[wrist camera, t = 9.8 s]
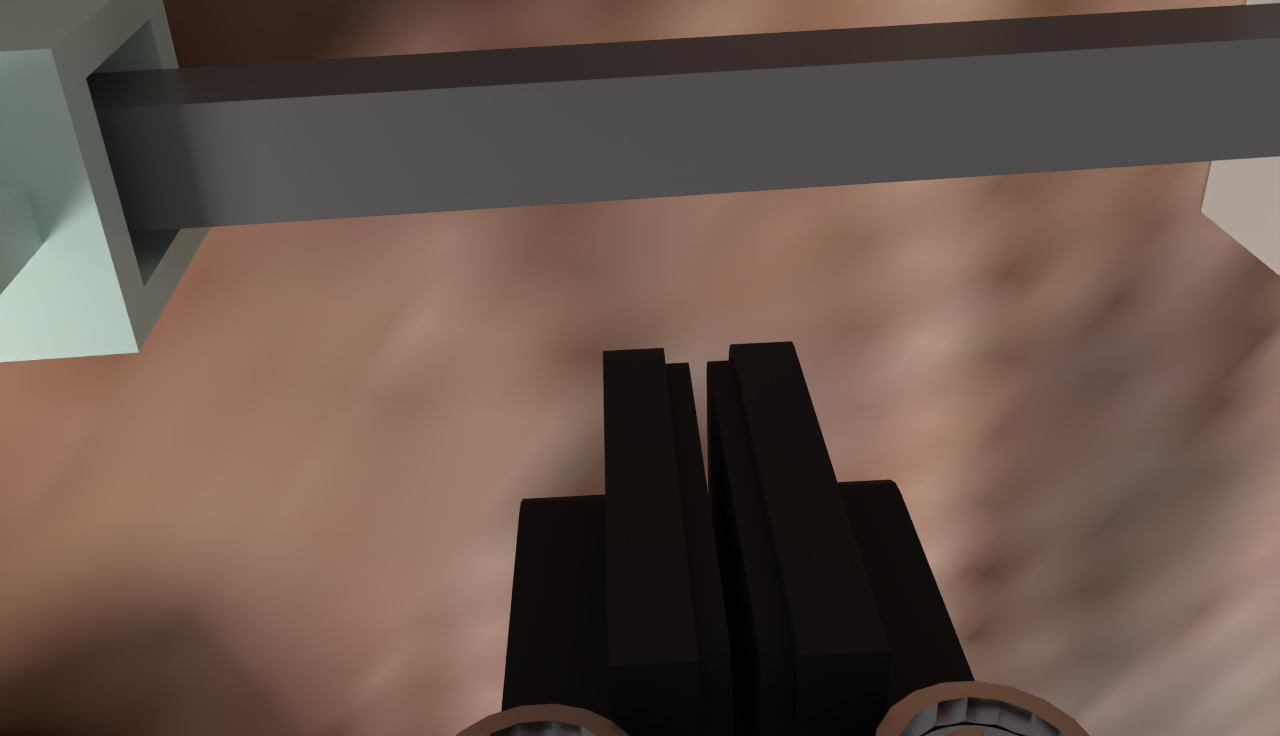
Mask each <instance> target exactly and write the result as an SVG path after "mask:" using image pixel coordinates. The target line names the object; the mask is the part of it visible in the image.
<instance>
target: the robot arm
mask: <svg viewBox="0 0 1280 736" xmlns="http://www.w3.org/2000/svg"><path fill="white" fill-rule="evenodd" d="M603 381H604V441H605V495H588V496H569V497H550V498H531V499H523V500H522V501H521V505H520V512H519V523H518V534H517V545H516V556H515V567H514V578H513V589H512V600H511V611H510V622H509V633H508V644H507V655H506V666H505V677H504V688H503V699H502V710H501V712H499V713H495V714H492V715H489V716H487V717H485V718H484V719H482V720H480V721H478V722H477V723H475V724H473V725H471V726H469V727H468V728H466V729H464V730H462V731H461V732H459V733H458V734H457V735H456V736H1089V735H1088V733H1087V732H1086V731H1085V730H1084V729H1083V728H1082V727H1081V726H1080V725H1079V724H1078V723H1077V722H1076V720H1075V719H1073V718H1072V717H1070V716H1069V715H1067V714H1066V713H1064V712H1063V711H1061V710H1060V709H1058V708H1057V707H1055V706H1054V705H1052V704H1050V703H1049V702H1047V701H1046V700H1044V699H1042V698H1039V697H1036V696H1034V695H1031V694H1029V693H1026V692H1024V691H1021V690H1018V689H1016V688H1013V687H1010V686H1004V685H998V684H992V683H986V682H980V681H975V680H974V678H973V675H972V673H971V670H970V667H969V665H968V662H967V660H966V657H965V655H964V652H963V650H962V647H961V645H960V642H959V639H958V637H957V634H956V632H955V629H954V627H953V624H952V622H951V619H950V617H949V614H948V612H947V609H946V606H945V604H944V601H943V599H942V596H941V594H940V591H939V589H938V586H937V584H936V581H935V578H934V576H933V573H932V571H931V568H930V566H929V563H928V561H927V558H926V556H925V553H924V551H923V548H922V545H921V543H920V540H919V538H918V535H917V533H916V530H915V528H914V525H913V523H912V520H911V517H910V515H909V512H908V510H907V507H906V505H905V502H904V500H903V497H902V495H901V492H900V490H899V489H898V487H897V485H896V483H895V482H893V481H892V480H873V481H854V482H837V480H836V476H835V473H834V470H833V467H832V464H831V461H830V457H829V454H828V451H827V448H826V445H825V442H824V438H823V435H822V432H821V429H820V426H819V423H818V420H817V416H816V413H815V410H814V407H813V404H812V401H811V397H810V394H809V391H808V388H807V385H806V382H805V379H804V375H803V372H802V369H801V366H800V363H799V360H798V356H797V353H796V350H795V347H794V345H793V343H792V342H790V341H789V342H770V343H750V344H731V345H730V348H729V361H710V362H707V440H708V490H707V484H706V477H705V470H704V463H703V456H702V450H701V443H700V436H699V429H698V423H697V416H696V409H695V402H694V395H693V389H692V382H691V375H690V368H689V363H671V364H665V355H664V348H652V349H633V350H613V351H603Z"/></svg>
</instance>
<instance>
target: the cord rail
mask: <svg viewBox="0 0 1280 736" xmlns="http://www.w3.org/2000/svg"><path fill="white" fill-rule="evenodd" d="M86 80H87V84H88V88H89V91H90V95H91V98H92V102H93V106H94V109H95V113H96V116H97V120H98V123H99V127H100V131H101V134H102V138H103V141H104V145H105V149H106V152H107V156H108V159H109V163H110V167H111V170H112V174H113V177H114V181H115V185H116V188H117V192H118V195H119V199H120V203H121V206H122V210H123V213H124V217H125V220H126V224H127V228H128V231H129V232H139V231H154V230H169V229H184V228H200V227H215V226H230V225H245V224H260V223H276V222H291V221H306V220H321V219H336V218H352V217H367V216H382V215H397V214H412V213H428V212H443V211H458V210H473V209H488V208H504V207H519V206H534V205H549V204H564V203H580V202H595V201H610V200H625V199H640V198H656V197H671V196H686V195H701V194H716V193H732V192H747V191H762V190H777V189H792V188H808V187H823V186H838V185H853V184H868V183H884V182H899V181H914V180H929V179H944V178H960V177H975V176H990V175H1005V174H1020V173H1036V172H1051V171H1066V170H1081V169H1096V168H1112V167H1127V166H1142V165H1157V164H1172V163H1188V162H1203V161H1212V163H1211V168H1210V172H1209V177H1208V182H1207V186H1206V191H1205V195H1204V200H1203V205H1202V209H1201V212H1202V213H1203V214H1205V215H1206V216H1207V217H1208V218H1209V219H1211V220H1212V221H1213V222H1214V223H1216V224H1217V225H1218V226H1219V227H1220V228H1222V229H1223V230H1224V231H1225V232H1227V233H1228V234H1229V235H1230V236H1232V237H1233V238H1234V239H1235V240H1236V241H1238V242H1239V243H1240V244H1241V245H1243V246H1244V247H1245V248H1246V249H1248V250H1249V251H1250V252H1251V253H1252V254H1254V255H1255V256H1256V257H1257V258H1259V259H1260V260H1261V261H1262V262H1264V263H1265V264H1266V265H1267V266H1268V267H1270V268H1271V269H1272V270H1273V271H1275V272H1276V273H1277V274H1278V275H1280V0H1247V2H1246V5H1236V6H1219V7H1203V8H1186V9H1169V10H1152V11H1135V12H1118V13H1101V14H1085V15H1068V16H1051V17H1034V18H1017V19H1000V20H983V21H967V22H950V23H933V24H916V25H899V26H882V27H865V28H848V29H832V30H815V31H798V32H781V33H764V34H747V35H730V36H714V37H697V38H680V39H663V40H646V41H629V42H612V43H595V44H579V45H562V46H545V47H528V48H511V49H494V50H477V51H461V52H444V53H427V54H410V55H393V56H376V57H359V58H342V59H326V60H309V61H292V62H275V63H258V64H241V65H224V66H208V67H191V68H174V69H157V70H140V71H123V72H106V73H91V74H90V75H89V76H88V77H87V78H86Z"/></svg>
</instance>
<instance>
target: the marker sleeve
mask: <svg viewBox="0 0 1280 736" xmlns="http://www.w3.org/2000/svg"><path fill="white" fill-rule="evenodd" d="M174 68H179V67H178V63H177V58H176V54H175V50H174V46H173V42H172V37H171V33H170V29H169V25H168V20H167V16H166V12H165V8H164V4H163V0H0V362H10V361H24V360H38V359H52V358H66V357H80V356H94V355H109V354H123V353H137V352H139V351H140V349H141V348H142V346H143V344H144V342H145V341H146V339H147V337H148V335H149V334H150V332H151V330H152V328H153V327H154V325H155V323H156V321H157V320H158V318H159V316H160V314H161V313H162V311H163V309H164V307H165V306H166V304H167V302H168V300H169V299H170V297H171V295H172V293H173V292H174V290H175V288H176V286H177V285H178V283H179V281H180V279H181V278H182V276H183V274H184V272H185V271H186V269H187V267H188V265H189V264H190V262H191V260H192V258H193V257H194V255H195V253H196V251H197V250H198V248H199V246H200V244H201V243H202V241H203V239H204V237H205V236H206V234H207V232H208V230H209V228H210V227H200V228H184V229H169V230H154V231H139V232H129V231H128V228H127V224H126V220H125V217H124V213H123V210H122V206H121V203H120V199H119V195H118V192H117V188H116V185H115V181H114V177H113V174H112V170H111V167H110V163H109V159H108V156H107V152H106V149H105V145H104V141H103V138H102V134H101V131H100V127H99V123H98V120H97V116H96V113H95V109H94V106H93V102H92V98H91V95H90V91H89V88H88V84H87V80H86V78H87V77H88V76H89V75H90V74H91V73H106V72H123V71H140V70H157V69H174Z"/></svg>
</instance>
